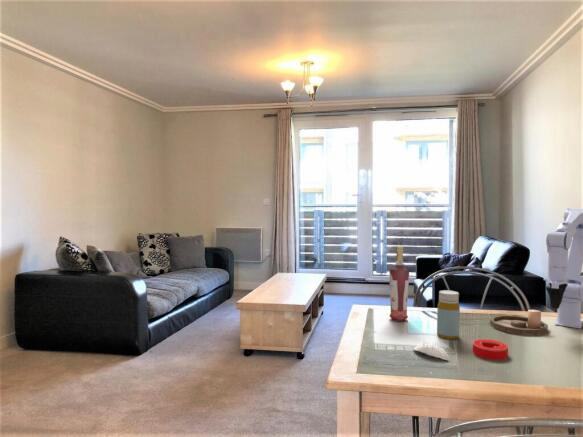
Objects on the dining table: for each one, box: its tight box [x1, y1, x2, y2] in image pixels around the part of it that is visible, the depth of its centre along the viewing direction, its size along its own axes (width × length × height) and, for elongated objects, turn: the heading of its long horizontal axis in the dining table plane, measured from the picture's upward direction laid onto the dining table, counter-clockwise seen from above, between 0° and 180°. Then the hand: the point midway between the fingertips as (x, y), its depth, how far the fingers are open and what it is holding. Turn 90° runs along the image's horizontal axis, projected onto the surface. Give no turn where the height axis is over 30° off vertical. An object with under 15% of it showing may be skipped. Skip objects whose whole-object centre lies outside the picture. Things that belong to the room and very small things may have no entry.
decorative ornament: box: [472, 339, 509, 361], centre depth 133 cm, size 10×10×3 cm
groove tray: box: [489, 314, 549, 336], centre depth 160 cm, size 18×18×2 cm
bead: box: [527, 309, 542, 329], centre depth 156 cm, size 4×4×6 cm
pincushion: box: [413, 343, 451, 362], centre depth 131 cm, size 12×6×6 cm, turn 39°
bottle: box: [436, 289, 461, 340], centre depth 149 cm, size 7×7×15 cm
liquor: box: [389, 245, 410, 322], centre depth 168 cm, size 7×7×28 cm
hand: (556, 305), depth 153 cm, fingers open, 7 cm apart
